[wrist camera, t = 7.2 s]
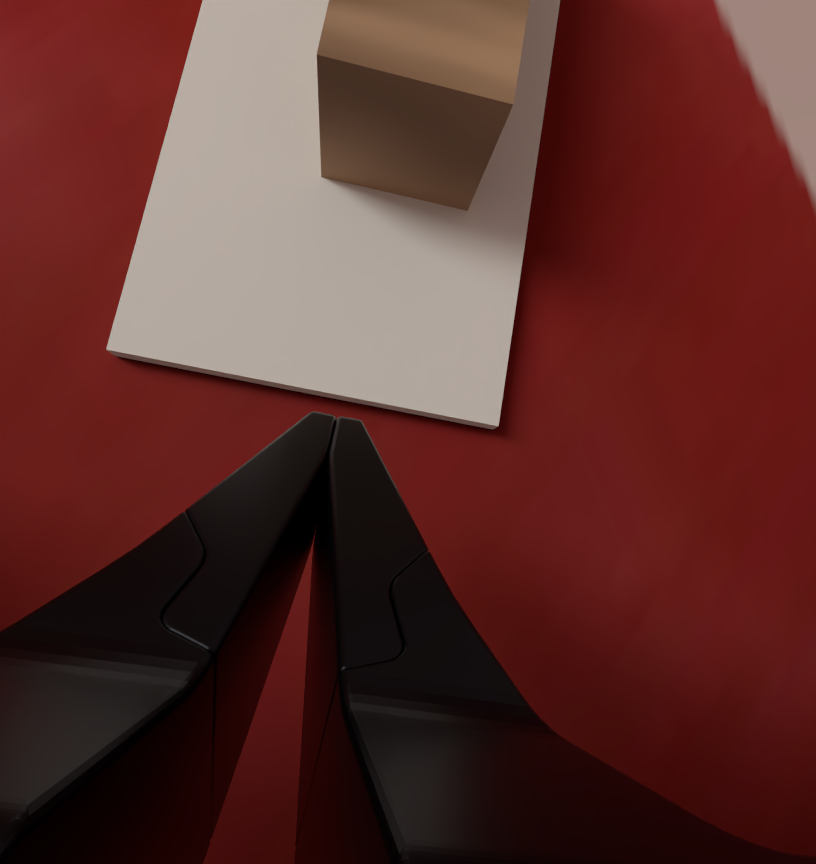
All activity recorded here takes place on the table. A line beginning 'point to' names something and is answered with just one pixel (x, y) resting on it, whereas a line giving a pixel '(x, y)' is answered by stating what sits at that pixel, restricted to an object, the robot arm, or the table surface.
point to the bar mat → (323, 235)
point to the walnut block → (417, 92)
